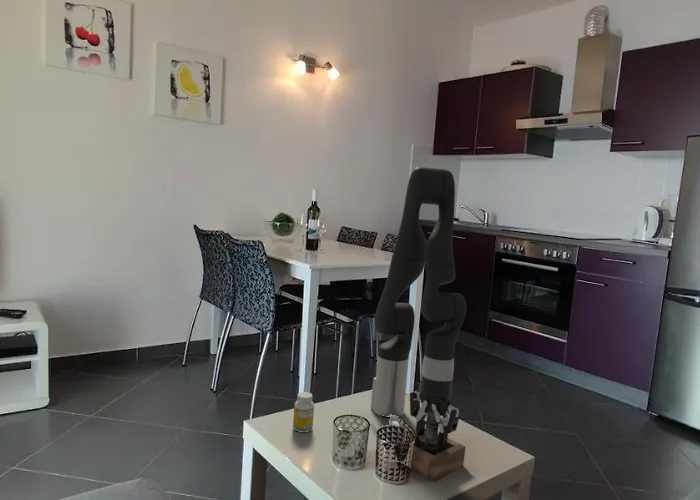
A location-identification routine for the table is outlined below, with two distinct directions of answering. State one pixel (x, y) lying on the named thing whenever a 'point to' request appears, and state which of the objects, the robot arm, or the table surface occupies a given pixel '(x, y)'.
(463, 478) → the table surface
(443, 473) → the walnut holder
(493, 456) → the table surface
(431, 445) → the dark grey chess piece
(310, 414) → the supplement bottle
